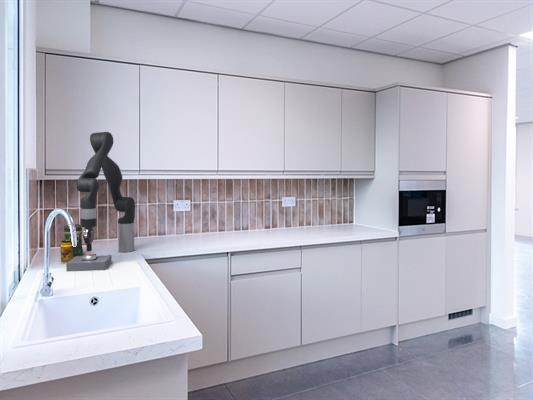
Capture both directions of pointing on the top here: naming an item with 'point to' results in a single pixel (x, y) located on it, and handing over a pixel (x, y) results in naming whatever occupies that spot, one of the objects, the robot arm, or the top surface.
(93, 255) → the button
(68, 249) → the condiment
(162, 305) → the top surface
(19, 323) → the top surface
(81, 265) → the box
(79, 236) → the green bottle
